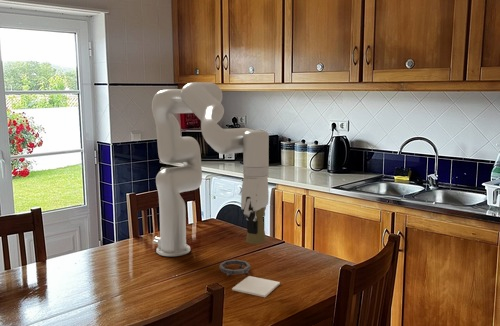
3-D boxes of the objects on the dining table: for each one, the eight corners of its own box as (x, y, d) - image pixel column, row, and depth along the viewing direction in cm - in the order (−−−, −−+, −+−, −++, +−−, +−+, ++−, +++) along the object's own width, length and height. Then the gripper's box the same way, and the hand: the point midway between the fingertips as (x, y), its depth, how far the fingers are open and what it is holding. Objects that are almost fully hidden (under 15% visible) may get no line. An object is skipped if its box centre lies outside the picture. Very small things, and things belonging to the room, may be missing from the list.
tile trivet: (232, 290, 144) (232, 288, 144) (248, 277, 154) (248, 275, 154) (265, 297, 140) (265, 295, 139) (280, 283, 149) (280, 282, 149)
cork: (264, 244, 142) (264, 208, 140) (244, 243, 143) (244, 207, 141) (267, 238, 147) (267, 204, 146) (248, 237, 149) (248, 203, 147)
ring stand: (214, 273, 157) (214, 267, 157) (229, 264, 166) (229, 258, 165) (240, 279, 153) (240, 272, 152) (254, 269, 161) (254, 262, 161)
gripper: (256, 166, 151) (256, 223, 154) (231, 175, 136) (231, 237, 139) (278, 168, 148) (278, 226, 150) (254, 177, 133) (254, 240, 136)
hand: (255, 230), depth 145 cm, fingers closed on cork, 4 cm apart
